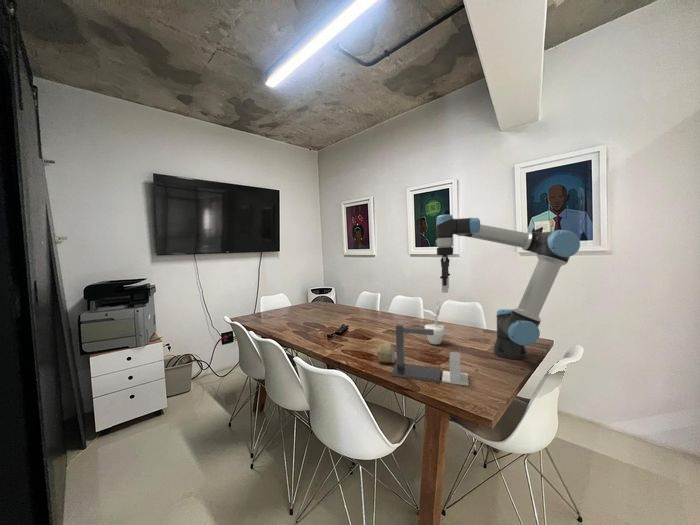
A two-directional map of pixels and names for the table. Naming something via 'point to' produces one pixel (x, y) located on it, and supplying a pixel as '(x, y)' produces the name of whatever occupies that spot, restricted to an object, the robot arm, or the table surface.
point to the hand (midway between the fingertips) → (445, 290)
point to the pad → (462, 382)
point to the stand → (409, 369)
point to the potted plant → (435, 328)
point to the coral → (386, 353)
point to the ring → (454, 366)
